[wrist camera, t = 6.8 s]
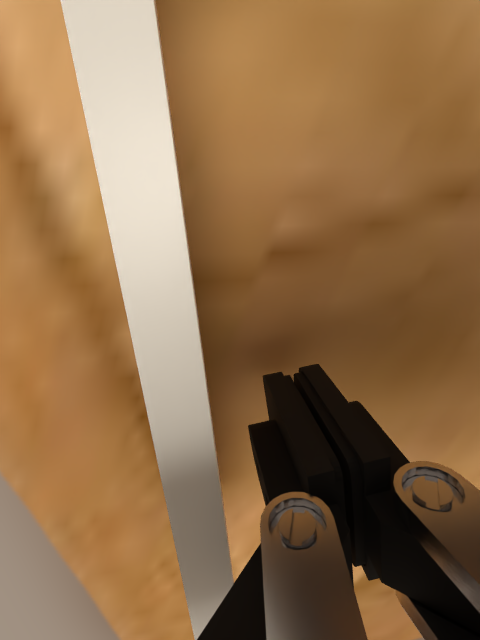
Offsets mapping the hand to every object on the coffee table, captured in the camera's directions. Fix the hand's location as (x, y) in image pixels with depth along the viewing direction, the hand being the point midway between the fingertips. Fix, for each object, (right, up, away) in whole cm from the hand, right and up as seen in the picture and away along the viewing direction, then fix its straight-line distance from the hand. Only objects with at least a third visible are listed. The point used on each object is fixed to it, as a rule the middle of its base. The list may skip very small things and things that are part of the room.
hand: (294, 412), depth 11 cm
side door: (-4, +3, +2) cm, 5 cm away
